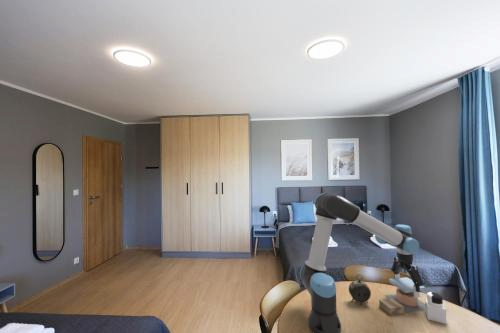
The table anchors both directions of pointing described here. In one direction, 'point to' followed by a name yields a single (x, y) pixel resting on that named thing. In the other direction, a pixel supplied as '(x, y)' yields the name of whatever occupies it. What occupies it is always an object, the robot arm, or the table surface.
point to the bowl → (406, 298)
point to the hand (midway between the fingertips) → (406, 290)
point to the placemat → (407, 309)
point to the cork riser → (391, 306)
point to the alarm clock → (359, 291)
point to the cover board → (405, 284)
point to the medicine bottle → (435, 308)
